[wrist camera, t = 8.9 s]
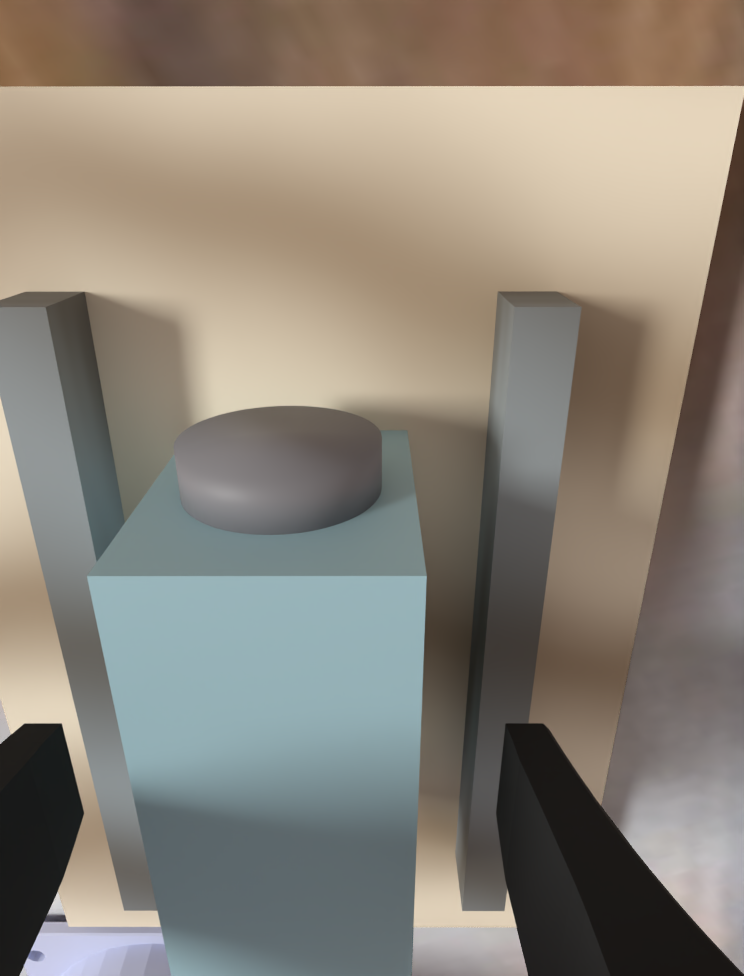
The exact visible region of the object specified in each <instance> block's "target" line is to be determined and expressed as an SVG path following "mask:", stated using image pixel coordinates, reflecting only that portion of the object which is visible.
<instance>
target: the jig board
mask: <svg viewBox="0 0 744 976" xmlns="http://www.w3.org/2000/svg"><path fill="white" fill-rule="evenodd" d="M743 97H744V86H253V87H0V699H1V703H2V706H3V709H4V713H5V716H6V719H7V723H8V726H9V729H10V733H11V734H13V733H14V732H15V731H16V730H17V729H18V728H20V727H21V726H22V725H23V724H24V723H62V726H63V730H64V734H65V738H66V742H67V746H68V750H69V754H70V758H71V762H72V766H73V770H74V774H75V778H76V782H77V786H78V790H79V794H80V798H81V802H82V806H83V810H84V816H83V819H82V822H81V826H80V829H79V832H78V835H77V838H76V842H75V845H74V848H73V851H72V854H71V857H70V860H69V863H68V866H67V869H66V872H65V875H64V877H63V880H62V882H61V885H60V887H59V889H58V893H59V896H60V900H61V903H62V906H63V910H64V913H65V916H66V920H67V923H68V926H69V927H161V925H160V921H159V916H158V911H157V906H156V902H155V897H154V892H153V887H152V883H151V878H150V873H149V868H148V864H147V859H146V854H145V849H144V845H143V840H142V835H141V830H140V826H139V821H138V816H137V811H136V807H135V802H134V797H133V793H132V788H131V783H130V778H129V774H128V769H127V764H126V759H125V755H124V750H123V745H122V740H121V736H120V731H119V726H118V721H117V717H116V712H115V707H114V702H113V698H112V693H111V688H110V684H109V679H108V674H107V669H106V665H105V660H104V655H103V650H102V646H101V641H100V636H99V631H98V627H97V622H96V617H95V612H94V608H93V603H92V598H91V593H90V589H89V584H88V579H87V575H88V574H89V573H90V571H91V570H92V568H93V567H94V566H95V564H96V563H97V561H98V560H99V559H100V557H101V556H102V554H103V553H104V552H105V550H106V549H107V547H108V546H109V545H110V543H111V542H112V540H113V539H114V538H115V536H116V535H117V533H118V532H119V531H120V529H121V528H122V526H123V525H124V524H125V522H126V521H127V519H128V518H129V517H130V515H131V514H132V512H133V511H134V510H135V508H136V507H137V505H138V504H139V503H140V501H141V500H142V498H143V497H144V496H145V494H146V493H147V491H148V490H149V489H150V487H151V486H152V484H153V483H154V482H155V480H156V479H157V477H158V476H159V475H160V473H161V472H162V471H163V469H164V468H165V466H166V465H167V464H168V462H169V461H170V459H171V458H172V457H173V455H174V448H173V447H174V442H175V440H176V438H177V437H178V436H179V435H180V434H181V433H182V432H183V431H185V430H186V429H187V428H189V427H191V426H192V425H194V424H196V423H198V422H201V421H203V420H206V419H208V418H211V417H214V416H218V415H221V414H225V413H229V412H233V411H239V410H244V409H251V408H259V407H270V406H312V407H322V408H329V409H336V410H340V411H345V412H348V413H352V414H355V415H358V416H360V417H363V418H365V419H367V420H369V421H370V422H372V423H373V424H374V425H375V426H376V427H378V429H379V430H407V432H408V440H409V447H410V455H411V462H412V470H413V477H414V485H415V492H416V500H417V507H418V515H419V522H420V529H421V537H422V544H423V552H424V559H425V567H426V574H427V582H426V608H425V635H424V661H423V688H422V714H421V741H420V767H419V794H418V820H417V846H416V873H415V899H414V926H413V927H516V923H515V918H514V914H513V910H512V906H511V902H510V898H509V894H508V889H507V885H506V881H505V875H504V868H503V861H502V854H501V847H500V840H499V832H498V825H497V818H496V808H497V798H498V789H499V780H500V770H501V761H502V752H503V743H504V733H505V724H506V723H543V724H544V725H545V726H547V727H548V728H549V730H550V731H551V733H552V734H553V736H554V738H555V739H556V741H557V742H558V744H559V745H560V747H561V749H562V750H563V752H564V753H565V755H566V756H567V758H568V759H569V761H570V762H571V764H572V765H573V767H574V768H575V770H576V771H577V773H578V774H579V776H580V777H581V778H582V780H583V781H584V783H585V784H586V786H587V787H588V788H589V790H590V791H591V793H592V794H593V796H594V797H595V798H596V800H597V801H598V802H599V804H600V805H601V804H602V799H603V794H604V789H605V784H606V779H607V774H608V769H609V764H610V759H611V754H612V749H613V744H614V739H615V734H616V729H617V725H618V720H619V715H620V710H621V705H622V700H623V695H624V690H625V685H626V680H627V675H628V670H629V665H630V660H631V655H632V650H633V645H634V640H635V635H636V630H637V625H638V620H639V615H640V610H641V605H642V600H643V595H644V590H645V585H646V580H647V575H648V570H649V565H650V560H651V555H652V550H653V545H654V540H655V535H656V530H657V525H658V520H659V515H660V511H661V506H662V501H663V496H664V491H665V486H666V481H667V476H668V471H669V466H670V461H671V456H672V451H673V446H674V441H675V436H676V431H677V426H678V421H679V416H680V411H681V406H682V401H683V396H684V391H685V386H686V381H687V376H688V371H689V366H690V361H691V356H692V351H693V346H694V341H695V336H696V331H697V326H698V321H699V316H700V311H701V306H702V301H703V297H704V292H705V287H706V282H707V277H708V272H709V267H710V262H711V257H712V252H713V247H714V242H715V237H716V232H717V227H718V222H719V217H720V212H721V207H722V202H723V197H724V192H725V187H726V182H727V177H728V172H729V167H730V162H731V157H732V152H733V147H734V142H735V137H736V132H737V127H738V122H739V117H740V112H741V107H742V102H743Z"/></svg>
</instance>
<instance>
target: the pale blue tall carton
mask: <svg viewBox="0 0 744 976" xmlns="http://www.w3.org/2000/svg"><path fill="white" fill-rule="evenodd" d="M173 448H174V455H173V457H172V458H171V459H170V461H169V462H168V464H167V465H166V466H165V468H164V469H163V471H162V472H161V473H160V475H159V476H158V477H157V479H156V480H155V482H154V483H153V484H152V486H151V487H150V489H149V490H148V491H147V493H146V494H145V496H144V497H143V498H142V500H141V501H140V503H139V504H138V505H137V507H136V508H135V510H134V511H133V512H132V514H131V515H130V517H129V518H128V519H127V521H126V522H125V524H124V525H123V526H122V528H121V529H120V531H119V532H118V533H117V535H116V536H115V538H114V539H113V540H112V542H111V543H110V545H109V546H108V547H107V549H106V550H105V552H104V553H103V554H102V556H101V557H100V559H99V560H98V561H97V563H96V564H95V566H94V567H93V568H92V570H91V571H90V573H89V574H88V575H87V579H88V584H89V589H90V593H91V598H92V603H93V608H94V612H95V617H96V622H97V627H98V631H99V636H100V641H101V646H102V650H103V655H104V660H105V665H106V669H107V674H108V679H109V684H110V688H111V693H112V698H113V702H114V707H115V712H116V717H117V721H118V726H119V731H120V736H121V740H122V745H123V750H124V755H125V759H126V764H127V769H128V774H129V778H130V783H131V788H132V793H133V797H134V802H135V807H136V811H137V816H138V821H139V826H140V830H141V835H142V840H143V845H144V849H145V854H146V859H147V864H148V868H149V873H150V878H151V883H152V887H153V892H154V897H155V902H156V906H157V911H158V916H159V921H160V925H161V930H162V935H163V939H164V944H165V949H166V954H167V958H168V963H169V968H170V973H171V976H412V952H413V926H414V899H415V873H416V846H417V820H418V794H419V767H420V741H421V714H422V688H423V661H424V635H425V608H426V582H427V574H426V567H425V559H424V552H423V544H422V537H421V529H420V522H419V515H418V507H417V500H416V492H415V485H414V477H413V470H412V462H411V455H410V447H409V440H408V432H407V430H379V429H378V427H376V426H375V425H374V424H373V423H372V422H370V421H369V420H367V419H365V418H363V417H360V416H358V415H355V414H352V413H348V412H345V411H340V410H336V409H329V408H322V407H312V406H270V407H259V408H251V409H244V410H239V411H233V412H229V413H225V414H221V415H218V416H214V417H211V418H208V419H206V420H203V421H201V422H198V423H196V424H194V425H192V426H191V427H189V428H187V429H186V430H185V431H183V432H182V433H181V434H180V435H179V436H178V437H177V438H176V440H175V442H174V447H173Z"/></svg>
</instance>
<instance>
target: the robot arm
mask: <svg viewBox="0 0 744 976" xmlns="http://www.w3.org/2000/svg"><path fill="white" fill-rule="evenodd" d="M83 816H84V810H83V806H82V802H81V798H80V794H79V790H78V786H77V782H76V778H75V774H74V770H73V766H72V762H71V758H70V754H69V750H68V746H67V742H66V738H65V734H64V730H63V726H62V723H24V724H23V725H22V726H21V727H20V728H18V729H17V730H16V731H15V732H14V733H13V734H11V735H10V736H9V737H8V738H7V739H6V740H5V741H3V742H2V743H1V744H0V976H19V975H20V973H21V971H22V969H23V966H24V967H25V970H26V973H27V976H171V973H170V968H169V963H168V958H167V954H166V949H165V944H164V939H163V935H162V930H161V927H69V926H68V923H67V922H44V921H45V918H46V916H47V914H48V912H49V909H50V907H51V905H52V903H53V901H54V898H55V896H56V894H57V892H58V889H59V887H60V885H61V882H62V880H63V877H64V875H65V872H66V869H67V866H68V863H69V860H70V857H71V854H72V851H73V848H74V845H75V842H76V838H77V835H78V832H79V829H80V826H81V822H82V819H83ZM496 818H497V825H498V832H499V840H500V847H501V854H502V861H503V868H504V875H505V881H506V885H507V889H508V894H509V898H510V902H511V906H512V910H513V914H514V918H515V923H516V927H517V931H518V935H519V939H520V943H521V947H522V951H523V955H524V959H525V963H526V967H527V971H528V976H744V974H743V973H742V972H741V971H740V970H739V969H738V968H737V967H736V966H735V965H734V964H733V963H732V962H731V961H730V960H729V958H728V957H727V956H726V955H725V954H724V953H723V952H722V951H721V950H720V949H719V948H718V947H717V946H716V945H715V944H714V943H713V941H712V940H711V939H710V938H709V937H708V936H707V935H706V934H705V933H704V932H703V931H702V929H701V928H700V927H699V926H698V925H697V924H696V923H695V922H694V921H693V919H692V918H691V917H690V916H689V915H688V914H687V913H686V911H685V910H684V909H683V908H682V907H681V906H680V905H679V903H678V902H677V901H676V900H675V899H674V898H673V896H672V895H671V894H670V893H669V892H668V890H667V889H666V888H665V887H664V886H663V884H662V883H661V882H660V881H659V880H658V878H657V877H656V876H655V875H654V874H653V873H652V871H651V870H650V869H649V868H648V866H647V865H646V864H645V863H644V861H643V860H642V859H641V858H640V856H639V855H638V854H637V853H636V851H635V850H634V849H633V848H632V846H631V845H630V844H629V842H628V841H627V840H626V838H625V837H624V836H623V834H622V833H621V832H620V830H619V829H618V828H617V827H616V825H615V824H614V823H613V821H612V820H611V819H610V817H609V816H608V815H607V813H606V812H605V811H604V809H603V808H602V807H601V805H600V804H599V802H598V801H597V800H596V798H595V797H594V796H593V794H592V793H591V791H590V790H589V788H588V787H587V786H586V784H585V783H584V781H583V780H582V778H581V777H580V776H579V774H578V773H577V771H576V770H575V768H574V767H573V765H572V764H571V762H570V761H569V759H568V758H567V756H566V755H565V753H564V752H563V750H562V749H561V747H560V745H559V744H558V742H557V741H556V739H555V738H554V736H553V734H552V733H551V731H550V730H549V728H548V727H547V726H545V725H544V724H543V723H506V724H505V733H504V743H503V752H502V761H501V770H500V780H499V789H498V798H497V808H496Z"/></svg>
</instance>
